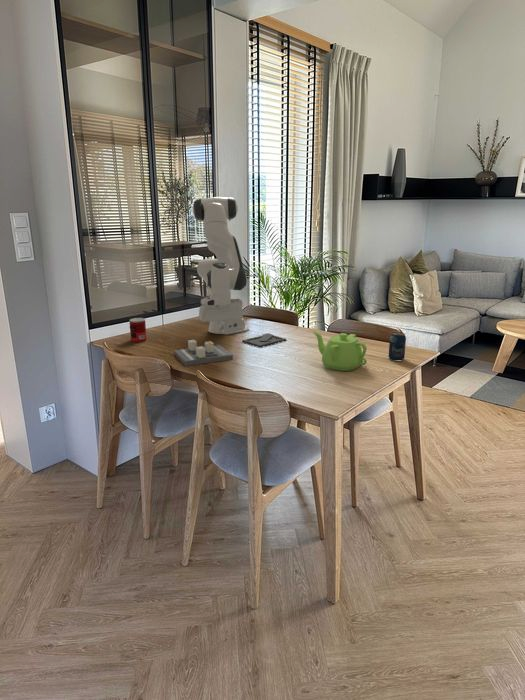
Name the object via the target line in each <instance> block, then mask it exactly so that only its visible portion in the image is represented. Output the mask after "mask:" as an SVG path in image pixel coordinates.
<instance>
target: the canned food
mask: <svg viewBox="0 0 525 700" xmlns="http://www.w3.org/2000/svg"><path fill="white" fill-rule="evenodd" d="M129 330H130V333H129V334H130V340H131V342H132V343H141V342H142V343H143V342H145V341H146V340H147V327H146V319H145V317H134V318H130V319H129Z"/></svg>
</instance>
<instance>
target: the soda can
mask: <svg viewBox="0 0 525 700" xmlns="http://www.w3.org/2000/svg"><path fill="white" fill-rule="evenodd" d="M406 342H407V337H406V333H404V332H400V331H394V332H393V331H392V332H391V334H390V336H389V345H388V358H389V360H390V359H392V360H402V361H403V360H405V355H406V354H405V353H406ZM392 360H391V361H392Z"/></svg>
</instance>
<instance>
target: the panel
mask: <svg viewBox="0 0 525 700" xmlns="http://www.w3.org/2000/svg"><path fill="white" fill-rule="evenodd" d="M203 347H204V348H205V346H203ZM173 353H174V356H176V358H177V359H178V360H179V361H180V362H181V363H182V364H183V365H184V366H185V367H186V366H193V365H200V364H201V365H202V364H207V363H215V362H221V361H228V360H230V361H231V360H233V359H234V358H233V356H234V355H233V354H232V353H231V352H230V351H229V350H227V349H225V348H224V347H223V346H221V345H220V344H216V345H215V344H214V352H210V353H207V352H206V351H205V357H204V358H198V357H197V356H196V350H195V351H190V350H189V349H188V348H183V349H175V350H173Z"/></svg>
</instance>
